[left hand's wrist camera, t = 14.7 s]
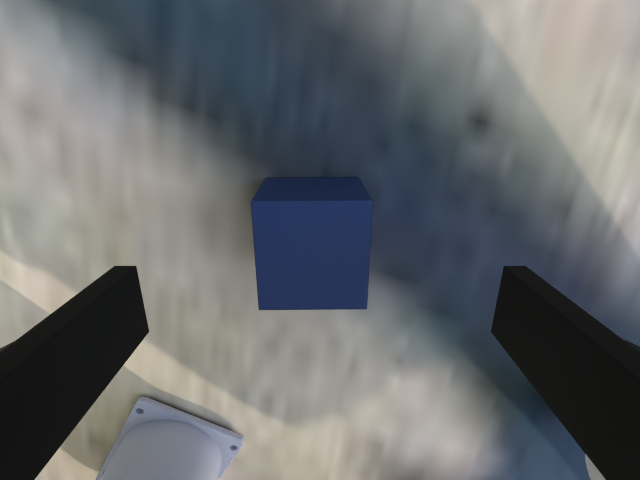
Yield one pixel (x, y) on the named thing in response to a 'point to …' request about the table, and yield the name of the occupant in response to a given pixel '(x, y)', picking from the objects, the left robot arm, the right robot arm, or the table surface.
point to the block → (312, 243)
